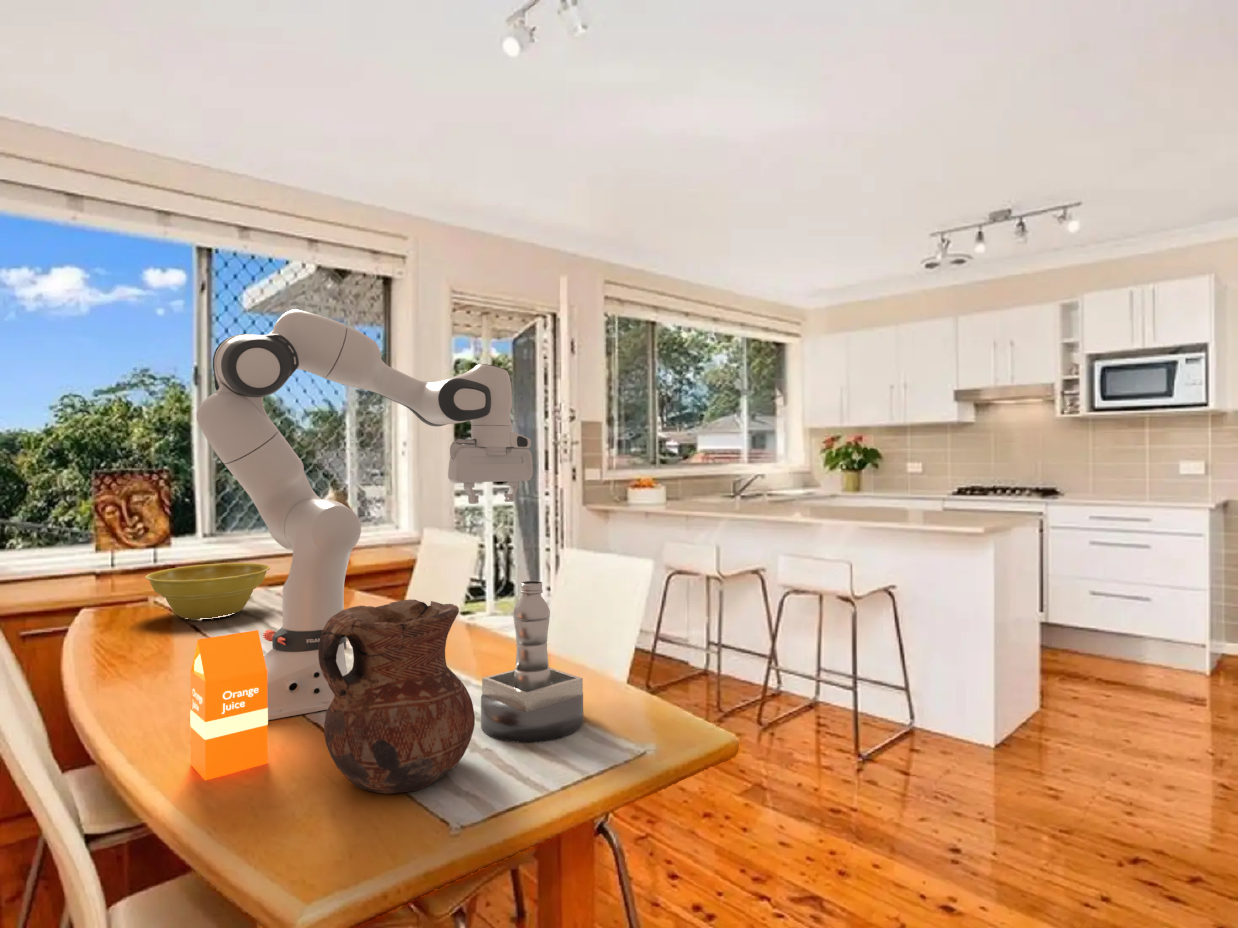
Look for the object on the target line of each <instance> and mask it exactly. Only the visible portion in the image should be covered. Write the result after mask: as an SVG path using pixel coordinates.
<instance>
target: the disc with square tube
mask: <svg viewBox="0 0 1238 928" xmlns="http://www.w3.org/2000/svg"><path fill="white" fill-rule="evenodd" d="M549 669H550V674H551V685H550V686H547V687H543V688H540V689H536V690H533V691H529V692H525V691H522V690H520V689H517V688H514V682H513V680H514V672H515V669H512V670H508V671H505V672H504V671H503V672H501V673H497V674H496V673H495V674H493V675H489V676H484V677H482V679H481V680H482V684H481V685H482V688H481V690H482V691H481V693H482V694H481V697H480V729H481V730H482V732H483V734H486V735H487V736H489V737H491V738H493V739H496V740H500V741H504V742H509V743H510V742H511V743H518V744H519V743H520V744H521V743H523V744H524V743H525V744H526V743H529V744H530V743H543V742H544V743H545V742H550V741H551V742H552V741H555V740H558V739H559V740H560V739H563V738H566V737H569V736H571V735H573V734H575V733H576V732H578V731H579V730H580V729H581V728H582V726H583V725H584V692H583V691H584V690H583V686H584V685H583V684H584V682H583V678H584V677H579V676H577V675H574V674H571V673H567V672H565V671H562V670H559V669H555V668H553V667H549Z"/></svg>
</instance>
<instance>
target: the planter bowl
mask: <svg viewBox="0 0 1238 928" xmlns="http://www.w3.org/2000/svg"><path fill="white" fill-rule="evenodd" d="M269 570H271V566H270V565H267V564H265V563H264V564H263V563H254V562H253V563H251V562H249V563H248V562H231V563H230V562H226V563H225V562H224V563H213V564H210V563H209V564H199V565H198V564H197V565H189V566H182V567H181V566H180V567H175V568H168V569H167V568H166V569H162V570H158V571H154V572H150V573H148V574H147V575H145V576H144V578H145V579H146V580H148V581H149V584H150V585H151V587H152V589H153V591H154V592H155V593H156V594H158V595H159V596H161V597H163V598H165V600H166V602H167V603H168V606H169V607H170V609H172V611H173V612H174V613H175V615H177V616H178V617H180V618H182V617H183V618H188V619H200V618H212V617H218V616H223V615H228V614H232V613H236V612H238V613H239V612H240V611H241V610H243V609H244V608H245V606H246V605H247V604H248V602H249V600H250V598H251V595H252V594H253V591H254V590H255V589H257V587H258V586H260V585H262V583H263V581H264V579H265V577H266V573H267V572H268V571H269ZM183 618H182V619H183Z"/></svg>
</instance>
